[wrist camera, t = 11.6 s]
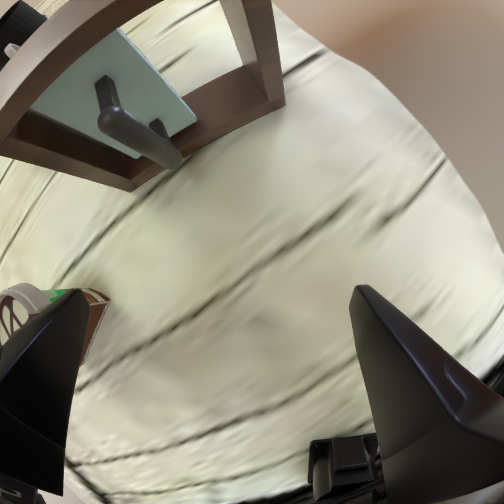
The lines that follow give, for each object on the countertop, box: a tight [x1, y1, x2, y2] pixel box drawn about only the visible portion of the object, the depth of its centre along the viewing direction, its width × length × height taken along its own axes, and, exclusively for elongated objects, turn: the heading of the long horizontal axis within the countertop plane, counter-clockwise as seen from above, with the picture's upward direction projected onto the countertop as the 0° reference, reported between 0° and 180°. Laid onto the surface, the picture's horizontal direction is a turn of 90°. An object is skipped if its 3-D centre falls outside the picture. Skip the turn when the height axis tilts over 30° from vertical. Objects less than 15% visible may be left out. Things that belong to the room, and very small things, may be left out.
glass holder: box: [0, 0, 49, 72], centre depth 16 cm, size 9×14×15 cm, turn 44°
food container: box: [0, 283, 110, 367], centre depth 18 cm, size 12×6×10 cm, turn 146°
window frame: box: [0, 0, 286, 192], centre depth 13 cm, size 15×4×15 cm, turn 116°
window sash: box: [30, 28, 197, 169], centre depth 13 cm, size 6×4×11 cm
